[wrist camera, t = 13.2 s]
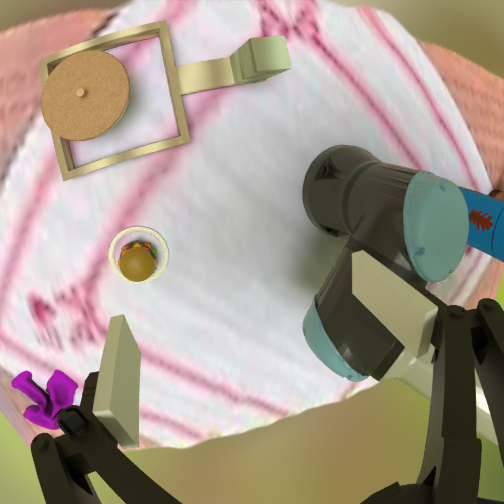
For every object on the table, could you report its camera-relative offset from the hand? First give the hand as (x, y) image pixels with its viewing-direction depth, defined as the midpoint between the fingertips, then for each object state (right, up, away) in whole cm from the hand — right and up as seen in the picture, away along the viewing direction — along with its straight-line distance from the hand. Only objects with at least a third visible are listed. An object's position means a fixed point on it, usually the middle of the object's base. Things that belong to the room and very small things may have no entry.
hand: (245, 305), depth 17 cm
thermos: (+42, +13, +43) cm, 61 cm away
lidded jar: (-20, +23, +18) cm, 35 cm away
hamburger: (-16, +3, +28) cm, 32 cm away
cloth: (-39, -27, +32) cm, 57 cm away
